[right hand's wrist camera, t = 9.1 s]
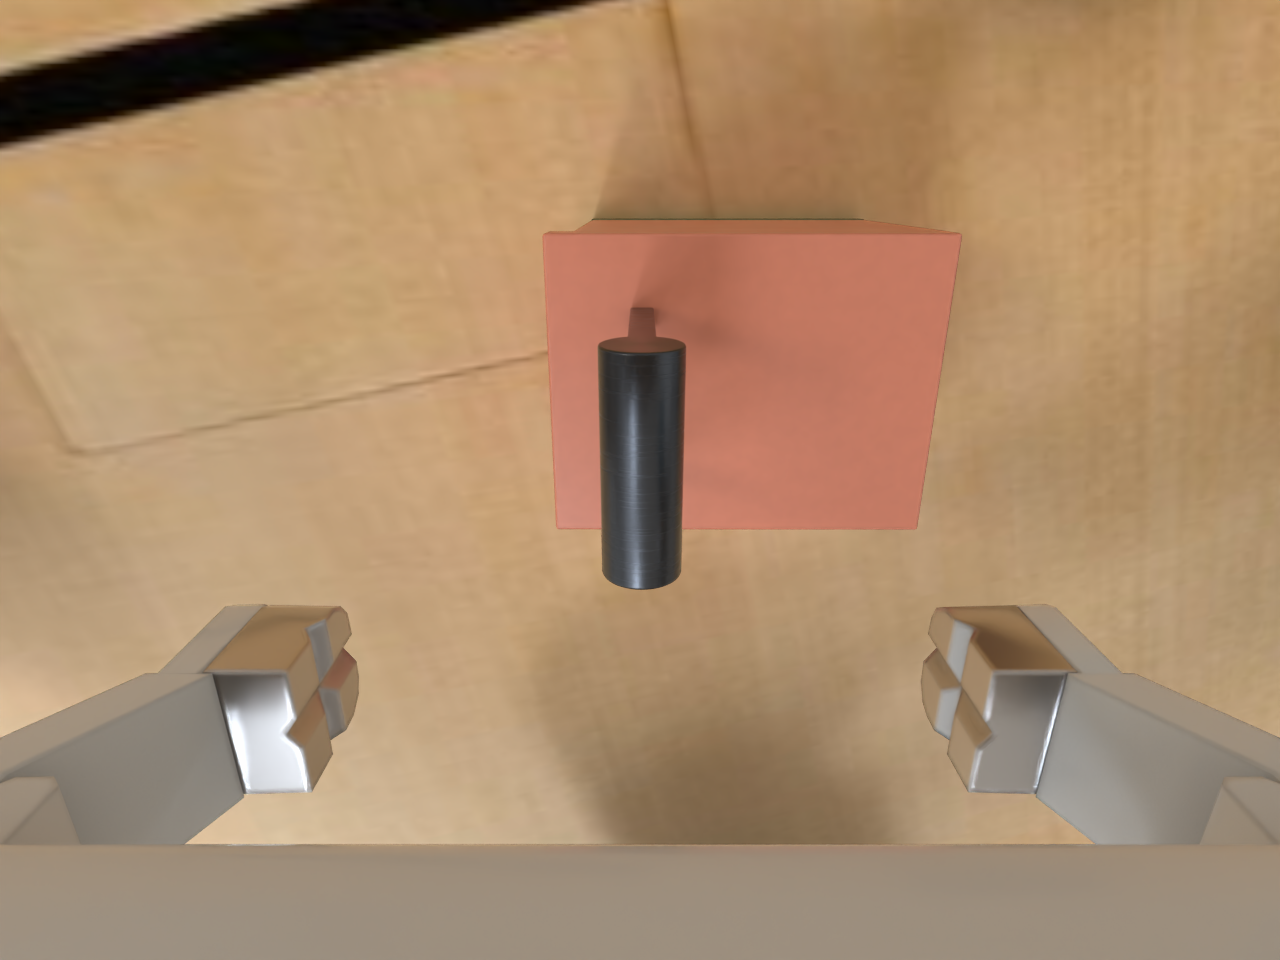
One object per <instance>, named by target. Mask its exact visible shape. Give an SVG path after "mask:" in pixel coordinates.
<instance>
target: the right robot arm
mask: <svg viewBox="0 0 1280 960" xmlns="http://www.w3.org/2000/svg"><path fill="white" fill-rule="evenodd" d="M351 634H352V633H351V628H350V624H349V619H348V614H347V612H346V611H345V610H344V609H343V608H342V607H341V606H298V605H269V606H268V605H265V604H260V605H232V606H227V607H224V608H223V609H222V610H221V611H220V612H219V613H218V614H217V615H216V616H215V617H214V618H213V619H212V620H211V621H210V622H209V623H208V624H207V625H206V626H205V627H204V628H203V629H202V630H201V631H200V632H199V633H198V634H197V635H196V636H195V637H194V638H193V639H192V640H191V641H190V642H189V643H188V644H187V645H186V646H185V647H184V648H183V649H182V650H181V651H180V652H179V653H178V654H177V655H176V656H175V657H174V658H173V659H172V660H171V661H170V662H169V663H168V664H167V665H166V666H165V667H164V668H163V669H162V670H161V671H160V672H159V673H145V674H143V675H141V676H139V677H136V678H134V679H132V680H130V681H127V682H125V683H123V684H121V685H118V686H116V687H114V688H112V689H109V690H107V691H105V692H103V693H100V694H98V695H96V696H94V697H91V698H89V699H87V700H84V701H82V702H80V703H78V704H75V705H73V706H71V707H69V708H66V709H64V710H62V711H60V712H57V713H55V714H53V715H51V716H48V717H46V718H44V719H42V720H39V721H37V722H35V723H33V724H30V725H28V726H26V727H23V728H21V729H19V730H17V731H14V732H12V733H10V734H8V735H5V736H3V737H1V738H0V960H1280V738H1279V737H1276V736H1274V735H1272V734H1270V733H1267V732H1265V731H1263V730H1261V729H1258V728H1256V727H1254V726H1252V725H1249V724H1247V723H1245V722H1243V721H1240V720H1238V719H1236V718H1234V717H1231V716H1229V715H1227V714H1225V713H1222V712H1220V711H1218V710H1216V709H1213V708H1211V707H1209V706H1207V705H1204V704H1202V703H1200V702H1198V701H1195V700H1193V699H1191V698H1189V697H1186V696H1184V695H1182V694H1180V693H1177V692H1175V691H1173V690H1171V689H1168V688H1166V687H1164V686H1162V685H1159V684H1157V683H1155V682H1153V681H1150V680H1148V679H1146V678H1144V677H1141V676H1139V675H1137V674H1135V673H1121V672H1120V671H1119V670H1118V669H1117V668H1116V667H1115V666H1114V665H1113V664H1112V663H1111V662H1110V661H1109V660H1108V659H1107V658H1106V657H1105V656H1104V655H1103V654H1102V653H1101V652H1100V651H1099V650H1098V649H1097V648H1096V647H1095V646H1094V645H1093V644H1092V643H1091V642H1090V641H1089V640H1088V639H1087V638H1086V637H1085V636H1084V635H1083V634H1082V633H1081V632H1080V631H1079V630H1078V629H1077V628H1076V627H1075V626H1074V625H1073V624H1072V623H1071V622H1070V621H1069V620H1068V619H1067V618H1066V617H1065V616H1064V615H1063V614H1062V613H1061V612H1060V611H1059V610H1058V609H1057V608H1055V607H1053V606H1050V605H1047V604H1037V605H1012V606H972V607H940V608H936V609H935V612H934V614H933V616H932V618H931V622H930V628H929V633H928V634H929V636H930V637H931V639H932V641H933V642H934V644H935V645H936V647H937V648H936V649H935V650H934V651H933V652H932V653H931V654H930V655H929V656H928V657H927V658H926V660H925V661H924V662H923V670H922V678H921V689H922V700H923V705H924V708H925V711H926V715H927V717H928V719H929V721H930V723H931V725H932V727H933V729H934V730H935V731H936V732H938V733H939V734H941V735H942V736H944V737H945V738H947V739H949V740H950V741H949V746H948V752H947V755H948V757H949V758H950V760H951V762H952V764H953V766H954V767H955V769H956V771H957V773H958V775H959V776H960V778H961V780H962V782H963V784H964V785H965V787H966V789H967V791H968V792H981V793H1018V794H1036V798H1038V799H1039V800H1040V801H1042V802H1043V803H1044V804H1045V805H1047V806H1048V807H1049V808H1050V809H1052V810H1053V811H1054V812H1056V813H1057V814H1058V815H1059V816H1061V817H1062V818H1063V819H1064V820H1066V821H1067V822H1068V823H1070V824H1071V825H1072V826H1073V827H1075V828H1076V829H1077V830H1078V831H1080V832H1081V833H1082V834H1084V835H1085V836H1086V837H1087V838H1089V839H1090V840H1091V841H1092V842H1094V843H1095V844H185V843H186V842H188V841H189V840H190V839H192V838H193V837H194V836H195V835H197V834H198V833H199V832H201V831H202V830H203V829H204V828H206V827H207V826H208V825H209V824H211V823H212V822H213V821H215V820H216V819H217V818H218V817H220V816H221V815H222V814H223V813H225V812H226V811H227V810H229V809H230V808H231V807H232V806H234V805H235V804H236V803H238V802H239V801H240V800H241V799H243V798H244V794H262V793H297V792H312V791H313V789H314V787H315V786H316V784H317V782H318V780H319V778H320V776H321V775H322V773H323V771H324V769H325V767H326V766H327V764H328V762H329V760H330V758H331V757H332V755H333V752H332V746H331V741H330V740H332V739H333V738H335V737H336V736H338V735H339V734H341V733H342V732H344V731H345V730H346V729H347V727H348V725H349V723H350V721H351V719H352V717H353V715H354V712H355V707H356V703H357V699H358V694H359V675H358V669H357V662H356V661H355V660H354V658H353V657H352V656H351V655H350V654H349V653H348V652H347V651H346V650H345V649H344V648H343V647H344V645H345V644H346V642H347V641H348V639H349V637H350V636H351Z"/></svg>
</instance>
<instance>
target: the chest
mask: <svg viewBox="0 0 1280 960" xmlns="http://www.w3.org/2000/svg"><path fill="white" fill-rule="evenodd" d="M575 231H942V230H934V229H927V228H919V227H912V226H904V225H897V224H890V223H882V222H875V221H867V220H863V219H592V221H590V222H589V223H587V224H585V225H584V226H582V227H580V228H579V229H577V230H575Z"/></svg>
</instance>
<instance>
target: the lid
mask: <svg viewBox="0 0 1280 960" xmlns="http://www.w3.org/2000/svg"><path fill="white" fill-rule="evenodd" d="M961 239H962V235H961V234H960V233H955V232H948V231H549V232H547V233H545V234H543V256H544V277H545V298H546V320H547V341H548V362H549V384H550V405H551V426H552V448H553V469H554V490H555V512H556V527H557V529H602V571H603V574H604V576H605V577H606V578H607V580H609V581H610V582H612V583H613V584H615V585H618V586H621V587H624V588H629V589H639V590H644V589H654V588H659V587H663V586H666V585H668V584H670V583H672V582H674V581H675V580H676V579H677V578H678V577H679V575H680V573H681V552H682V529H916V528H917V524H918V517H919V511H920V504H921V498H922V491H923V485H924V478H925V472H926V465H927V459H928V452H929V446H930V439H931V433H932V427H933V420H934V414H935V407H936V401H937V394H938V388H939V381H940V375H941V368H942V362H943V355H944V349H945V342H946V336H947V329H948V323H949V316H950V310H951V303H952V297H953V290H954V284H955V278H956V271H957V265H958V258H959V252H960V245H961Z"/></svg>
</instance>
